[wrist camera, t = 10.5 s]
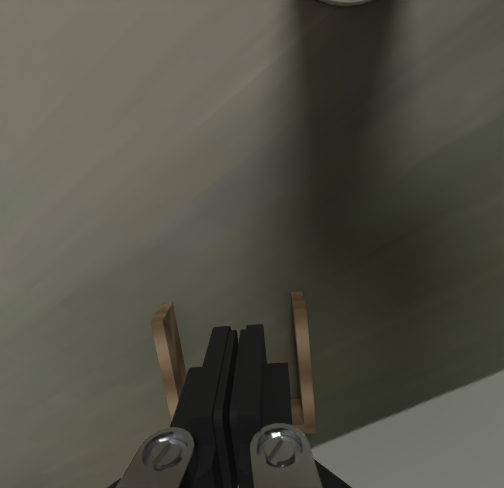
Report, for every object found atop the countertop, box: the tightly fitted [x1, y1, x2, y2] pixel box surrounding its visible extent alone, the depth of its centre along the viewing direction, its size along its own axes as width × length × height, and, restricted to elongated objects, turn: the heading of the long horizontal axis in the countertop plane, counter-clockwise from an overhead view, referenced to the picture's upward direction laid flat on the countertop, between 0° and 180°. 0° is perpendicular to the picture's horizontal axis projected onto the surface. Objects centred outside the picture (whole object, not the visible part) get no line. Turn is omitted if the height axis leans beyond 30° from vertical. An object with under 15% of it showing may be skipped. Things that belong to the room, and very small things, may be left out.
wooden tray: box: [151, 291, 316, 434], centre depth 38 cm, size 15×15×4 cm
